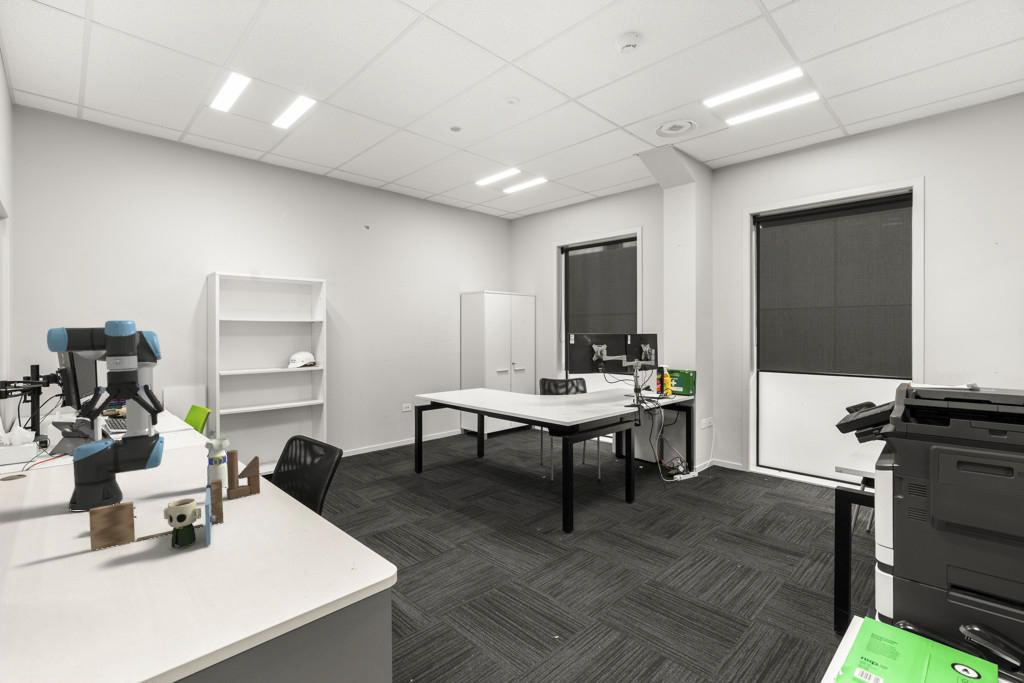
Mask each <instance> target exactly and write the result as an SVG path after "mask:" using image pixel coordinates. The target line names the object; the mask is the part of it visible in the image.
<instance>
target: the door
mask: <svg viewBox="0 0 1024 683" xmlns="http://www.w3.org/2000/svg"><path fill="white" fill-rule="evenodd" d="M205 491H206V492H205V502H204V514H205V516H204V517H205V535H206V537H205V542H206V543H205V544H206V546H210V545H211V544H212V526H213V524H212V522H215V515H214V516H211V508H212V505H211V495H210V488H207V489H205Z"/></svg>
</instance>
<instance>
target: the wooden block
mask: <svg viewBox="0 0 1024 683" xmlns="http://www.w3.org/2000/svg"><path fill="white" fill-rule="evenodd" d="M226 453H227V455H226V462H227V474H228V487H227V488H226V498H227V499H228V500H229V499H231V500H235V499H239V498H238V497H240V498H243V497H242V496H244V497H247V495H248V496H252V494H253V495H257V494H256V493H258V494H260V493H261V485H260V484H261V482H260V478H261V477H260V457H259V456H257V455H255V456H254V457H253V458H252V459H251V461H250V462H249V463H248V464H247V465H246V466H245V467H244V468H243V469H242V470H241V472H240V473H239V454H238V450H237V449H231V450H228V451H226ZM240 479H242V480H243V479H247V482H246V483H247V484H246V485H244V484H243V485H240V482H239V481H240ZM234 498H235V499H234Z"/></svg>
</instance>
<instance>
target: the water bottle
mask: <svg viewBox="0 0 1024 683" xmlns="http://www.w3.org/2000/svg"><path fill="white" fill-rule="evenodd" d="M216 432H217V430H213V428H211V429H210V430H208V431H206V433H208V437H209V438H210V437H211V436H212V437H215V433H216ZM229 446H230V441H229V438H227V437H221V438H220V437H219V438H218V437H217V438H212V439H209V440H206V443H205V445H204V448H205V449H206V450H207V449H208V453H207V455H206V457H207V461H208V462H207V463H208V464H207V466H206V468H207V470H206V472H207V479H206V480H207V484H206V485H211V481H213V480H219V479H221V480H222V488H225V487H227V488H228V474H227V451H226V448H227V447H229ZM225 489H226V488H225Z"/></svg>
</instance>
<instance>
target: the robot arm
mask: <svg viewBox="0 0 1024 683" xmlns="http://www.w3.org/2000/svg"><path fill="white" fill-rule="evenodd" d="M46 346H47V348H48V350H49V352H52V353H74V354H77V355H78V356H80V357H81V358H84V359H87V360H93V361H98V362H99V361H100V362H106V363H105V364H106V365H105V366H106V370H109V371H107V372H106V382H107V384H106V386H101V385H100V386H96V387H94V388H93V394H92V396H91V399H90V400H89V402H88V403H87V405H86V408H85V409H84V411H83V413H82V415H81V417H82V419H89V423H90V424H89V425H90V430H91V431H94V441H93V440H92V441H89V442H85V443H83V444H81V445H78V446H76V447H75V448H74V449H73V454H72V455H73V456H72V457H73V458H72V463H73V480H74V488H73V491H72V494H71V497H70V499H69V502H68V509H69V508H70V509H71V510H90V509H92V508H98V507H103V506H109V505H113V504H116V503H117V504H118V502H120V503H121V502H122V501H123V500H122V499H124V497H123V491H122V490H121V488H120V486H119V484H118V481H117V477H116V476H117V474H121V473H122V474H123V473H130V472H134V471H135V472H136V471H144V470H145V471H146V470H149V469H156V468H158V467H159V466H160V465H161V464H162V461H163V460H162V459H163V453H164V447H165V446H164V444H165V437H163V436H160V432H159V431H158V430H157V429H155V426H156V425H157V424H158V423H159V422H158V414H161V413H163V412H164V411H165V408H164V407H163V405H162V403H161V402H160V401H159V399H158V397H157V396H156V395H155V394H154V374H153V373H154V371H153V370H154V368H155V367H156V366H157V365H158V361H161V360H162V354H161V353H162V352H161V348H160V343H159V338H158V334H157V333H156V332H154V331H151V330H150V331H148V330H137V327H136V322H135V321H134V320H107V321H105V324H104V327H102V326H101V327H100V326H99V327H54V328H50V329H49V330H48V331H47V334H46ZM105 392H106V393H107V394H108V396H107V397H106V398H105V400H104V401H103V402H102V403H101V404H100V405H99V406H98V407H97V408H96V409H95V407H96V406H97V404H98V403H99V400H100V398H101V397H102V394H105ZM122 400H124V401H125V416H126V432H125V433H124V434H123V435H122V436H121V441H116V440H115V439H114V438H103V435H102V418H101V417H99V416H100V415H101V414H102V413H103V412H104V411H105V410H106V409H107V408H108V407H109V405H111V404H112V403H113V401H117V402H118V401H122ZM94 409H95V411H94ZM93 411H94V412H93ZM115 441H116V442H115ZM121 500H122V501H121Z"/></svg>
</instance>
